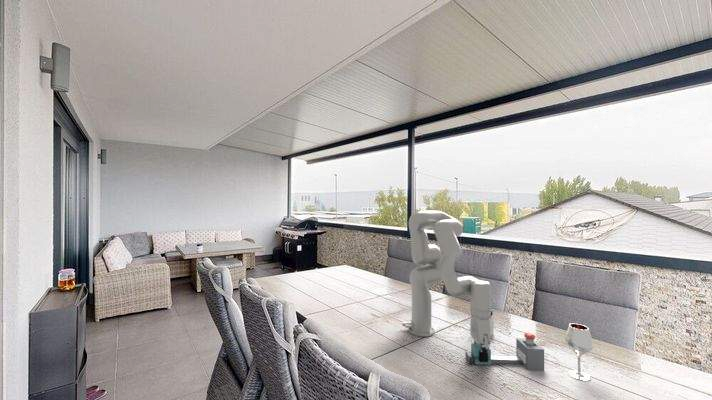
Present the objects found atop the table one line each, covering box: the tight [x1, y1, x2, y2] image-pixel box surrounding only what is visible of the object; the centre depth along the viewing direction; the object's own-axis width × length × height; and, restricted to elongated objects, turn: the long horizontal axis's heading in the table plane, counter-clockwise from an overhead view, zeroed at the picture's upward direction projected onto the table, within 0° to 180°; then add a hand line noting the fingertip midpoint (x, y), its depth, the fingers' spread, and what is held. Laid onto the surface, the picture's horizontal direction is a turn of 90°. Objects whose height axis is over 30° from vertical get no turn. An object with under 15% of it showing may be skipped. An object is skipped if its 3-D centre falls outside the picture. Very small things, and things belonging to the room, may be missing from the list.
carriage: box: [470, 342, 492, 366], centre depth 117 cm, size 6×5×6 cm
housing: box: [515, 337, 545, 372], centre depth 116 cm, size 6×9×8 cm
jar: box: [489, 308, 495, 337], centre depth 143 cm, size 9×8×12 cm
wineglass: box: [564, 323, 594, 382], centre depth 108 cm, size 8×8×18 cm
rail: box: [464, 350, 524, 366], centre depth 116 cm, size 21×5×3 cm, turn 87°
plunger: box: [523, 332, 536, 346], centre depth 116 cm, size 4×4×5 cm
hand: (480, 357), depth 117 cm, fingers closed on carriage, 5 cm apart
